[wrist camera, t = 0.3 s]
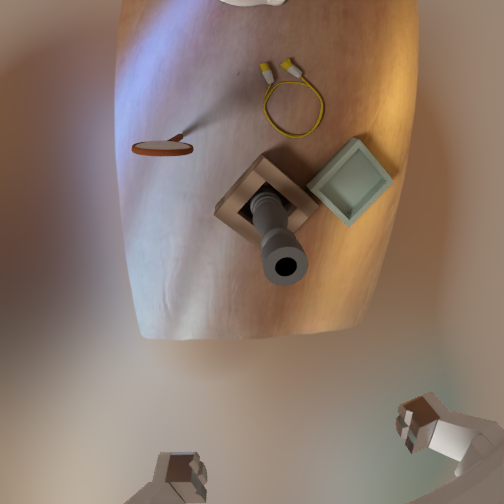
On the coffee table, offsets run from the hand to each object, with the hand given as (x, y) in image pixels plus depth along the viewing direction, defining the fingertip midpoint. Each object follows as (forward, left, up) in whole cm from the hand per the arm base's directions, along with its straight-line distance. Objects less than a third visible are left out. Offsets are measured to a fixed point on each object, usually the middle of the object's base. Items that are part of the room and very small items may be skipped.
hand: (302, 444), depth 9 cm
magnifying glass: (+3, -13, -51) cm, 53 cm away
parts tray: (-12, +18, -51) cm, 55 cm away
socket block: (+3, +8, -51) cm, 52 cm away
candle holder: (+3, +8, -51) cm, 52 cm away
